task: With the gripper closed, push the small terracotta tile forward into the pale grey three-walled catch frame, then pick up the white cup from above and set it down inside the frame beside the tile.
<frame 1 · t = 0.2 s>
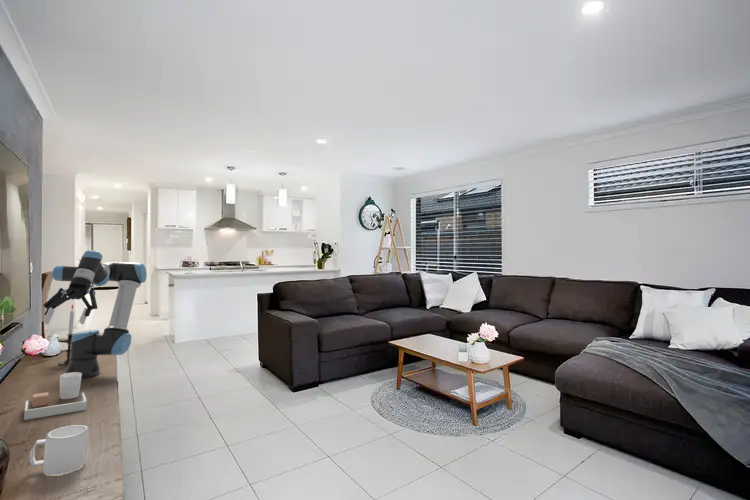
hand: (63, 322, 165), 35 cm above the table, tool tilted 35°, fingers open, 13 cm apart
tile: (40, 404, 165), on the table
mug: (60, 468, 117), on the table
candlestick: (67, 364, 227), on the table
catch frame: (55, 409, 160), on the table
white cup: (69, 397, 175), on the table
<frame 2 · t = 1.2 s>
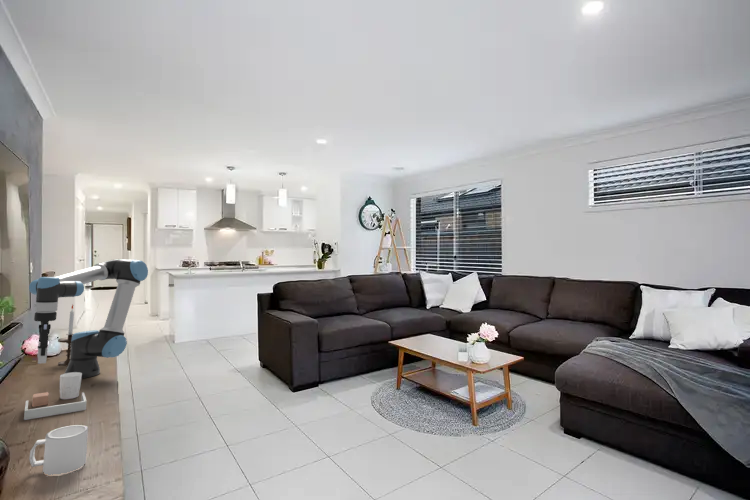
hand: (41, 360, 172), 17 cm above the table, tool pointing down, fingers open, 13 cm apart
nothing on the table moved.
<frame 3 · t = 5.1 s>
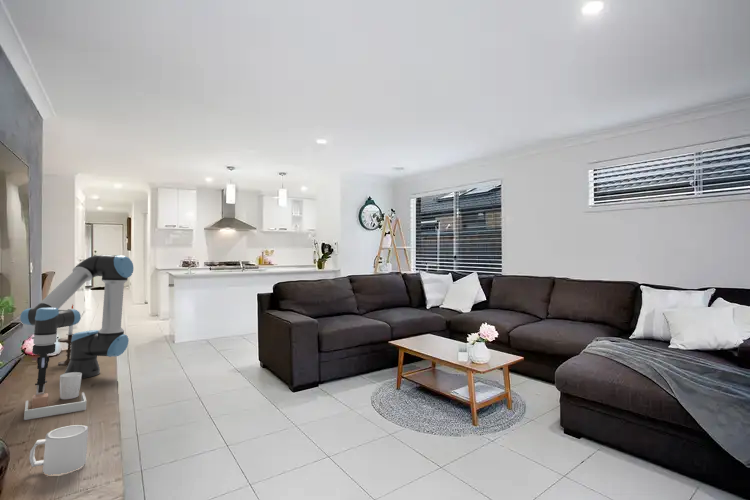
hand: (39, 399, 166), 2 cm above the table, tool pointing down, fingers closed
tile: (39, 405, 164), on the table, touching gripper
everything else where it was.
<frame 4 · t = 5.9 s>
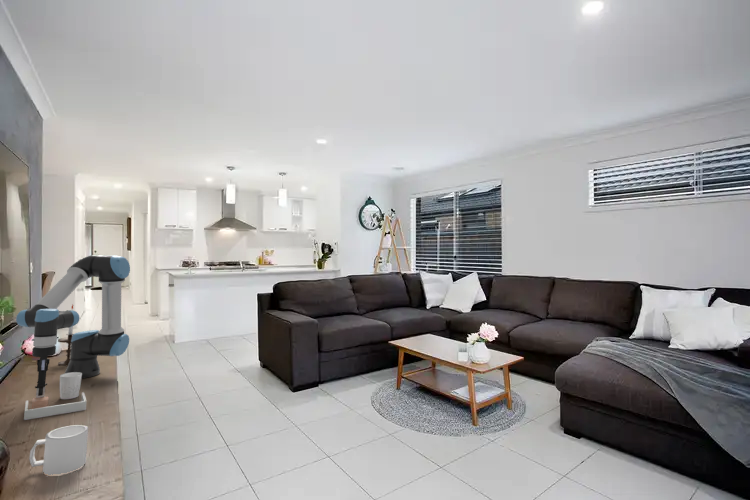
hand: (39, 402, 163), 2 cm above the table, tool pointing down, fingers closed
tile: (39, 408, 160), on the table, touching gripper
everything else where it was.
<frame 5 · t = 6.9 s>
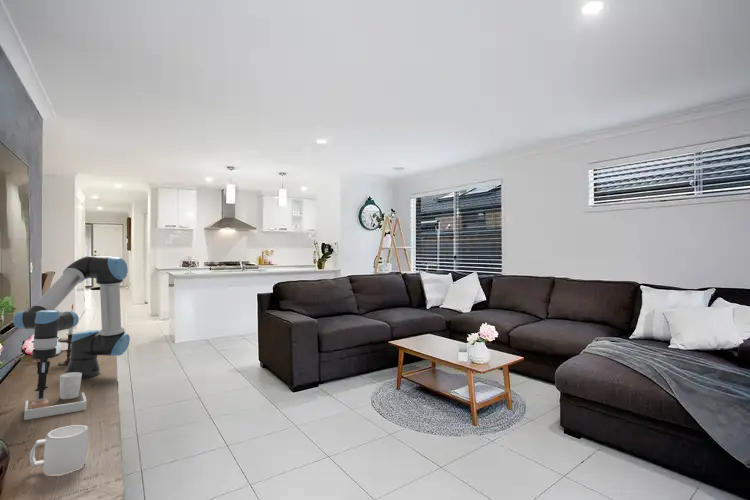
hand: (40, 405, 160), 1 cm above the table, tool pointing down, fingers closed
tile: (39, 412, 157), on the table, touching gripper
everything else where it was.
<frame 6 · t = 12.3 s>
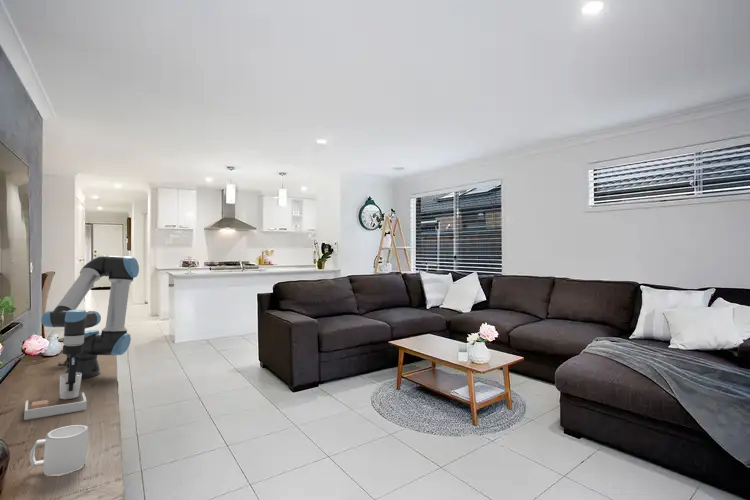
hand: (69, 395, 175), 1 cm above the table, tool pointing down, fingers closed on white cup, 7 cm apart
tile: (39, 412, 157), on the table
white cup: (69, 397, 175), on the table, touching gripper
everything else where it was.
when the fingers open (2 cm above the table, at t = 18.4 s): white cup drops 1 cm, on the table.
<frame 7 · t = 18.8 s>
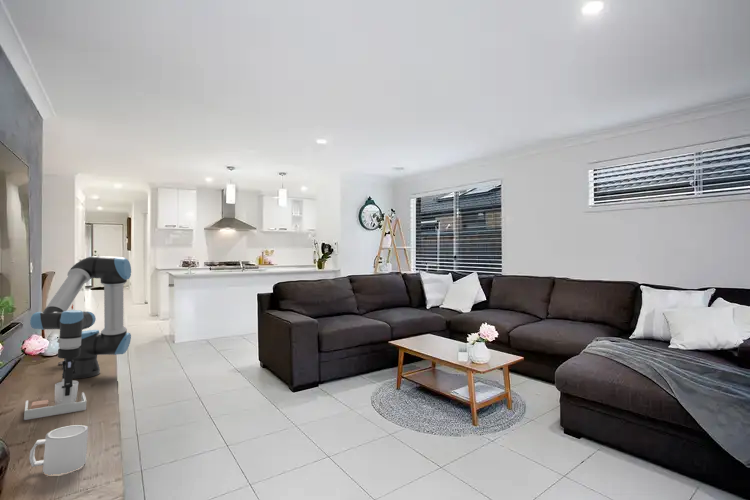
hand: (65, 398, 163), 4 cm above the table, tool pointing down, fingers open, 13 cm apart
white cup: (64, 407, 163), on the table
everything else where it was.
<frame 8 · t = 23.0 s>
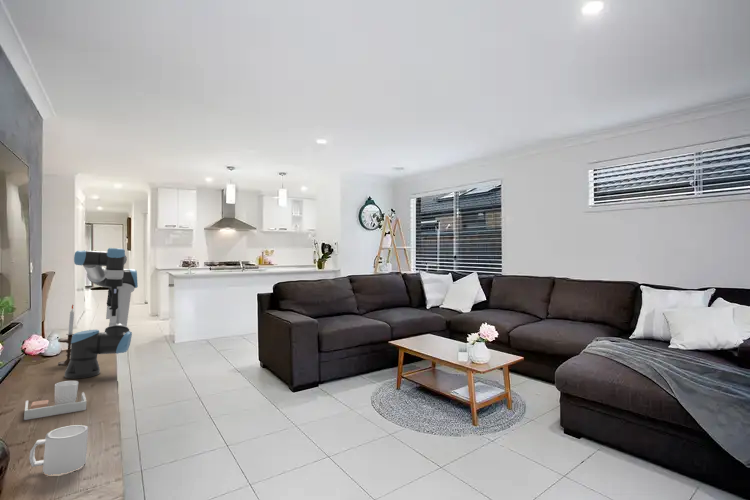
hand: (111, 320, 195), 32 cm above the table, tool pointing down, fingers open, 13 cm apart
nothing on the table moved.
at the end: tile inside the target area on the catch frame (5.1 cm from its centre), point 0.0 cm above the catch frame's base; white cup inside the target area on the catch frame (3.2 cm from its centre), point 0.0 cm above the catch frame's base; white cup tilted 0° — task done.
